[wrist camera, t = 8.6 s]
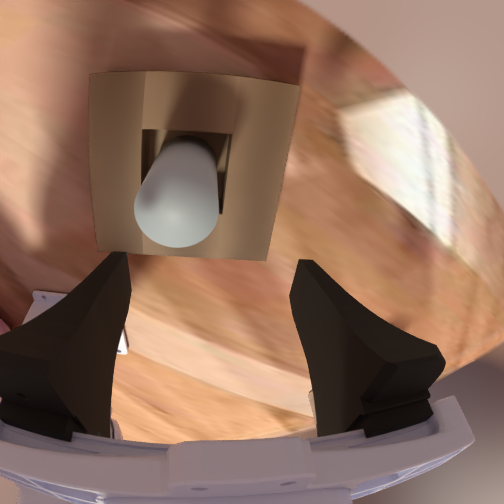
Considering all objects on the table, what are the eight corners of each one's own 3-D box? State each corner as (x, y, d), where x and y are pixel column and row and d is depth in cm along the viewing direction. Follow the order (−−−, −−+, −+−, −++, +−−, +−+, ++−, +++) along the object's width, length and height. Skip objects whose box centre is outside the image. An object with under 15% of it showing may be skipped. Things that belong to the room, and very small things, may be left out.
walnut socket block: (108, 230, 22) (97, 251, 20) (106, 72, 16) (89, 74, 13) (260, 238, 24) (266, 261, 22) (288, 83, 18) (300, 86, 15)
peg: (160, 193, 20) (141, 250, 15) (154, 137, 18) (128, 174, 13) (217, 189, 21) (220, 245, 15) (215, 133, 19) (217, 167, 13)
